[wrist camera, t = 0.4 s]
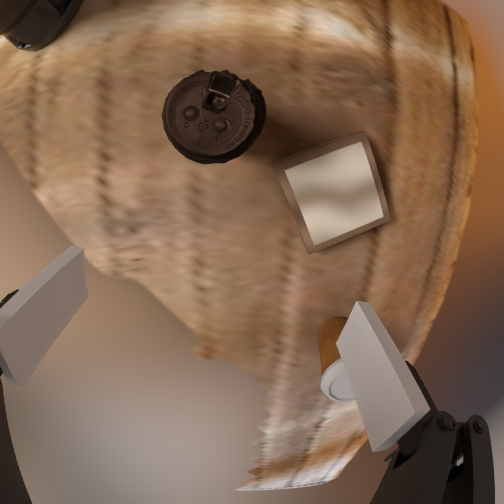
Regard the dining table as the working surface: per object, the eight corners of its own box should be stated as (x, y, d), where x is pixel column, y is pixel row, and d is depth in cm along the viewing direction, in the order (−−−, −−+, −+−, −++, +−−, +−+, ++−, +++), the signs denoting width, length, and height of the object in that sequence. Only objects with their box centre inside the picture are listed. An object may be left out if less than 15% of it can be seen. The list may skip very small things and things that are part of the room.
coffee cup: (242, 79, 28) (238, 45, 16) (272, 136, 31) (287, 135, 19) (178, 111, 30) (139, 99, 18) (209, 167, 33) (186, 185, 21)
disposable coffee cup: (304, 316, 42) (320, 372, 31) (361, 302, 41) (390, 352, 30) (310, 356, 45) (323, 409, 34) (360, 343, 45) (383, 392, 34)
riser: (270, 163, 32) (273, 165, 30) (355, 131, 31) (365, 131, 28) (304, 245, 37) (309, 255, 34) (381, 213, 35) (391, 220, 32)
